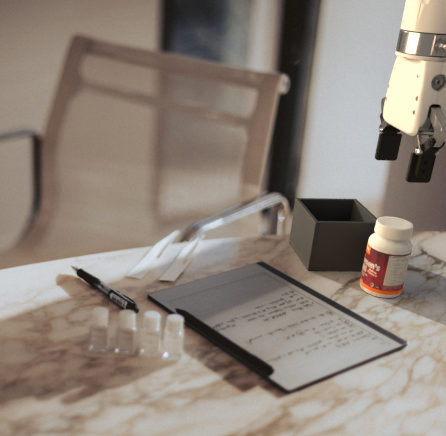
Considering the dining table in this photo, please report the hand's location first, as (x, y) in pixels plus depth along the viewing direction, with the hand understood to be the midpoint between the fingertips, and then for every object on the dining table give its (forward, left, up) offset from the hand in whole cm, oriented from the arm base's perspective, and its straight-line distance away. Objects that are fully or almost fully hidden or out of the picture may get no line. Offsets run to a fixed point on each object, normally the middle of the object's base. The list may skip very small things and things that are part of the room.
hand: (400, 170), depth 88 cm
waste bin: (+3, -12, -20) cm, 23 cm away
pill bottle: (-1, -1, -20) cm, 20 cm away
